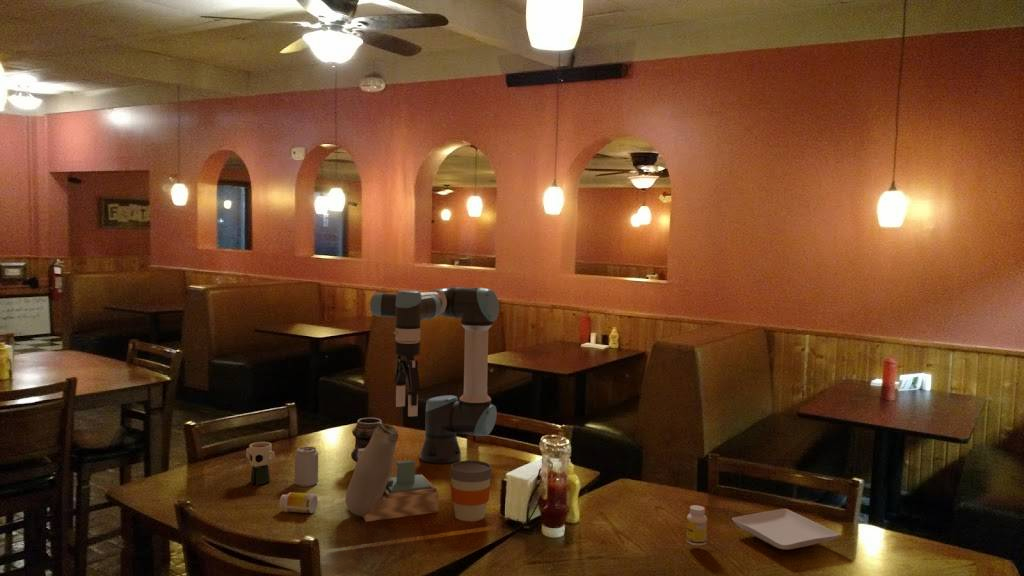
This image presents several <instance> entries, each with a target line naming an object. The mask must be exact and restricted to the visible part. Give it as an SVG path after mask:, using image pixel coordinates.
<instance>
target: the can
mask: <svg viewBox="0 0 1024 576" xmlns="http://www.w3.org/2000/svg"><path fill="white" fill-rule="evenodd" d="M318 482H319V452H318V451H317V448H316V447H314V446H301V447H299V448H297V449H296V452H295V454H294V484H295V485H297V486H298V487H300V488H301V487H302V488H306V487H307V488H308V487H313V486H315V485H316V484H317V483H318Z"/></svg>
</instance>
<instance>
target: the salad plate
mask: <svg viewBox="0 0 1024 576" xmlns="http://www.w3.org/2000/svg"><path fill="white" fill-rule="evenodd" d="M731 521H733V523H734V524H735V525H736V526H738V527H740V528H741V529H742V530H744V531H747V532H748V533H749V534H751V535H752V536H754V537H756V538H758V539H760V540H762V541H764V542H765V543H767V544H769V545H771V546H773V547H775V548H777V549H780V550H795V549H799V548H804V547H809V546H813V545H817V544H821V543H822V544H823V543H827V542H831V541H832V540H833V541H834V540H835V539H837V538H838V537H839V536H840V534H839V533H838V532H836V531H835V530H832V529H830V528H828V527H826V526H823V525H822V524H820V523H818V522H816V521H813V520H811V519H810V518H807V517H805V516H804V515H801V514H798V512H794V511H792V510H790V509H788V508H779V509H774V510H773V509H772V510H768V511H762V512H757V513H751V514H745V515H739V516H735V517H732V518H731Z"/></svg>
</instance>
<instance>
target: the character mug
mask: <svg viewBox="0 0 1024 576" xmlns="http://www.w3.org/2000/svg"><path fill="white" fill-rule="evenodd" d="M272 446H273V445H272V443H271V442H268V441H258V442H253V443H250V444H249V447H247V448H246V450H245V457H246V459H248V463H249V465H251V466H252V468H251V474H250V480H249V481H250V484H252V485H254V482H255V485H257V486H258V485H259V486H260V485H265V484H267V483H268V482H270V481H271V474H270V468H269V464H271V463H272V462H275V459H276V458H275V457H276V455H275V453H276V452H275V451H273V450H272Z"/></svg>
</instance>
